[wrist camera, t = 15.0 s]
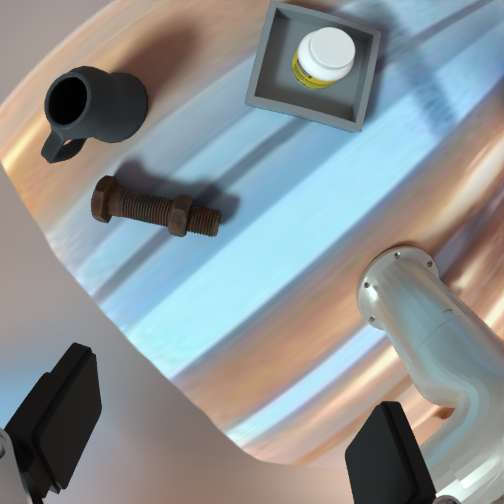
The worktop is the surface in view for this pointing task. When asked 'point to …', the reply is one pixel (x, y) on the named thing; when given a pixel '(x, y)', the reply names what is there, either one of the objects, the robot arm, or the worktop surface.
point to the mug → (92, 110)
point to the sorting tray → (293, 93)
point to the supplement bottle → (323, 58)
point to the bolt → (152, 209)
